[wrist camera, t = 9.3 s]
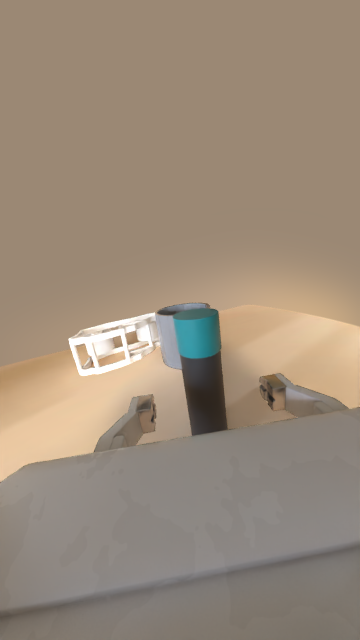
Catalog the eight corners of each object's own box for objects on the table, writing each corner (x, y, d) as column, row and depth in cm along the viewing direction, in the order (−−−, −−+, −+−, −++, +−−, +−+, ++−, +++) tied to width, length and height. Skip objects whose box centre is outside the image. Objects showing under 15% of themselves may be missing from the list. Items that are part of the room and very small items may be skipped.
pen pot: (155, 368, 31) (145, 317, 29) (172, 345, 40) (166, 305, 38) (211, 370, 28) (205, 313, 26) (216, 344, 37) (212, 301, 35)
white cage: (162, 335, 48) (157, 309, 46) (179, 347, 39) (174, 315, 37) (82, 358, 40) (73, 328, 39) (78, 381, 31) (66, 342, 29)
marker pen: (188, 452, 16) (166, 321, 13) (195, 420, 19) (179, 309, 16) (229, 459, 15) (216, 318, 12) (229, 424, 18) (219, 306, 15)
